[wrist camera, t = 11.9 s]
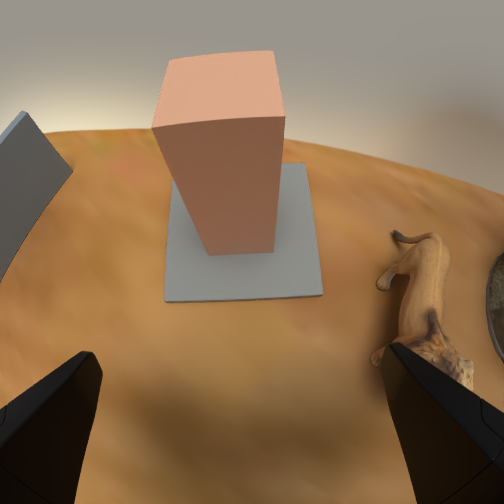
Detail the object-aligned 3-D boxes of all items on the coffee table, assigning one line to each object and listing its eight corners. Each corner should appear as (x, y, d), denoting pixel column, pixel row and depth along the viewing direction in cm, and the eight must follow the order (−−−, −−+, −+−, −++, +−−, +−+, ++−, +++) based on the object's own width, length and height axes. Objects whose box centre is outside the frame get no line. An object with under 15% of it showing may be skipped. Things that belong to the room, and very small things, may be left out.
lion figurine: (422, 402, 19) (493, 411, 10) (364, 409, 19) (421, 431, 11) (415, 234, 24) (467, 181, 16) (362, 230, 24) (403, 169, 16)
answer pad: (321, 295, 22) (323, 294, 22) (166, 302, 23) (164, 301, 22) (304, 166, 27) (304, 162, 26) (175, 174, 27) (173, 170, 26)
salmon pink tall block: (273, 252, 23) (285, 116, 10) (208, 255, 23) (151, 127, 10) (268, 194, 25) (272, 48, 12) (209, 197, 25) (170, 57, 12)
